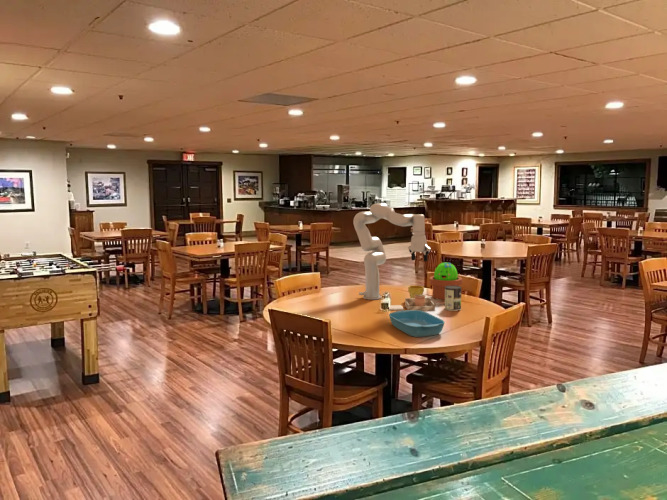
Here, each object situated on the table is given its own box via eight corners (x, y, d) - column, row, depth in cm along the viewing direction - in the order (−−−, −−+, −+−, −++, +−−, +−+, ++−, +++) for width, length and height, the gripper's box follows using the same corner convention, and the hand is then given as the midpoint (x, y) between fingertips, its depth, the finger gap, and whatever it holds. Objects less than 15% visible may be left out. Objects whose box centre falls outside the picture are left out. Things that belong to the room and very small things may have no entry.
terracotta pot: (415, 309, 330) (415, 296, 329) (413, 306, 337) (413, 294, 336) (426, 309, 330) (426, 296, 329) (424, 306, 337) (424, 294, 336)
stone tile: (389, 310, 329) (389, 308, 329) (387, 306, 338) (387, 305, 337) (403, 310, 329) (403, 308, 329) (401, 306, 338) (401, 305, 338)
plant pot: (423, 299, 357) (423, 285, 356) (424, 303, 347) (424, 288, 345) (407, 299, 358) (407, 285, 357) (408, 302, 348) (408, 288, 347)
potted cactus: (432, 293, 376) (432, 258, 373) (463, 295, 368) (464, 259, 365) (426, 299, 356) (426, 263, 353) (459, 302, 348) (460, 264, 345)
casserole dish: (383, 323, 300) (383, 311, 300) (417, 319, 308) (418, 307, 307) (413, 341, 266) (413, 328, 265) (451, 337, 273) (452, 323, 272)
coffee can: (460, 307, 334) (461, 285, 332) (461, 311, 324) (461, 288, 322) (444, 306, 336) (444, 285, 334) (444, 310, 326) (444, 288, 324)
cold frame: (408, 310, 327) (408, 302, 326) (405, 305, 340) (405, 298, 339) (434, 310, 328) (435, 302, 327) (430, 305, 340) (430, 297, 339)
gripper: (404, 234, 337) (405, 260, 339) (426, 234, 325) (426, 262, 327) (411, 233, 343) (412, 259, 344) (433, 233, 330) (434, 260, 332)
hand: (419, 260), depth 336 cm, fingers open, 9 cm apart
